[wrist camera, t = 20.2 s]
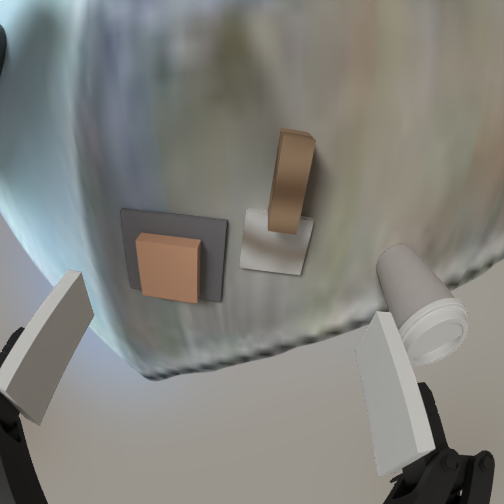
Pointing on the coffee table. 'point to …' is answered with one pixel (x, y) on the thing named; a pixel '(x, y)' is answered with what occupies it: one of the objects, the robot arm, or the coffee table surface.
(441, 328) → the coffee cup
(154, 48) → the coffee table surface
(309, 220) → the tapered wooden block
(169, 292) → the tile
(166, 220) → the mat
